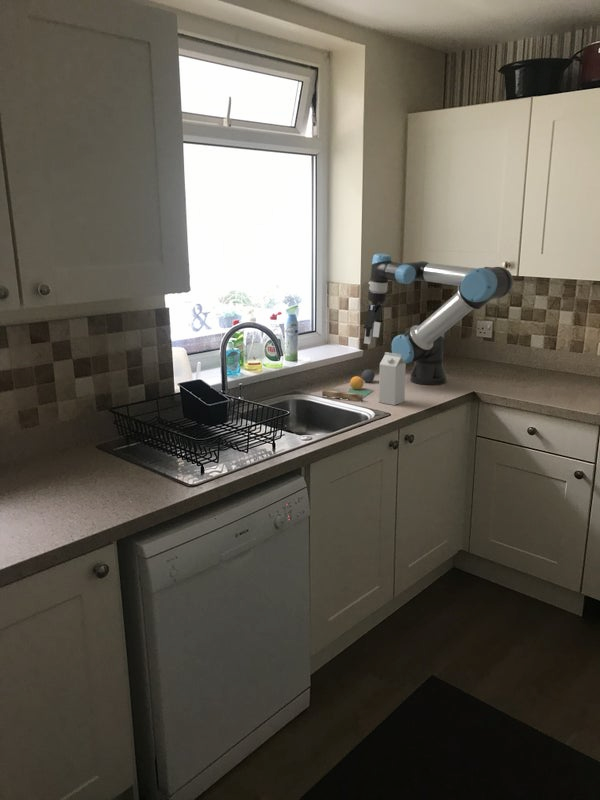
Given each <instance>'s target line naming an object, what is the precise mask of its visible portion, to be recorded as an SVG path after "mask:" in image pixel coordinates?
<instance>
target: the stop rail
mask: <svg viewBox="0 0 600 800" xmlns="http://www.w3.org/2000/svg"><path fill="white" fill-rule="evenodd" d="M321 392H322V393H321V395H322V396H327V397H335V398H342V399H348V400H347V401H350V400H354V401H353V402H359V401H361V402H362V401H363V400H364V398H363V394H357V393H347V392H338V391H336V390H328V389H327V390H326V389H323V390H322V391H321Z"/></svg>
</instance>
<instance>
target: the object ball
mask: <svg viewBox="0 0 600 800" xmlns="http://www.w3.org/2000/svg"><path fill="white" fill-rule="evenodd" d="M349 385H350V387H351V388H353V389H355V390H358V389H363V387H364V380H363V379H362V376H361V377H360V376H357V375H356V376H353V377H352V378H350V382H349Z"/></svg>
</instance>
